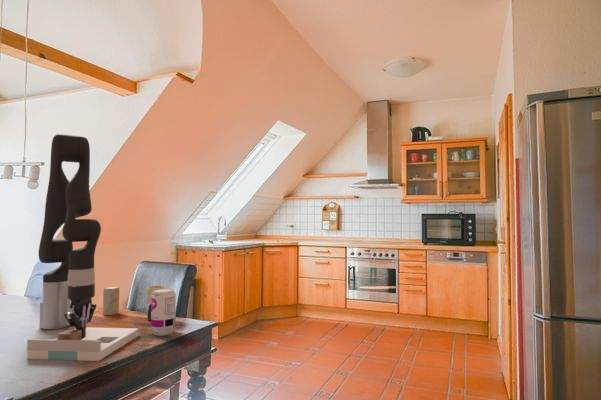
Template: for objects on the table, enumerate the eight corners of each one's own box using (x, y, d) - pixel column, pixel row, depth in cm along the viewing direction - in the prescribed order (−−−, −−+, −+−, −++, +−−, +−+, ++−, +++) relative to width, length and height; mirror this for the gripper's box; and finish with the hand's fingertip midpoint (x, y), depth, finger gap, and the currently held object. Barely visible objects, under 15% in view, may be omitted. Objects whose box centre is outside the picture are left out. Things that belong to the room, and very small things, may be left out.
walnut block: (57, 349, 118) (57, 334, 118) (67, 344, 122) (67, 329, 123) (71, 349, 118) (72, 334, 118) (81, 344, 122) (81, 329, 122)
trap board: (27, 358, 117) (27, 339, 117) (79, 334, 141) (79, 318, 141) (98, 360, 115) (98, 341, 116) (138, 335, 139) (139, 319, 139)
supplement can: (151, 337, 137) (152, 293, 138) (150, 331, 145) (150, 289, 145) (176, 334, 141) (176, 291, 141) (173, 328, 148) (174, 287, 149)
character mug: (169, 320, 160) (170, 287, 160) (152, 323, 155) (152, 289, 155) (158, 315, 168) (158, 284, 168) (141, 318, 163) (141, 286, 163)
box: (111, 315, 167) (111, 288, 168) (102, 315, 168) (102, 288, 169) (119, 312, 173) (119, 286, 173) (110, 312, 173) (111, 286, 174)
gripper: (83, 279, 132) (82, 331, 132) (55, 286, 119) (54, 345, 118) (104, 279, 131) (104, 332, 131) (79, 287, 118) (78, 346, 118)
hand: (80, 338), depth 125 cm, fingers closed
